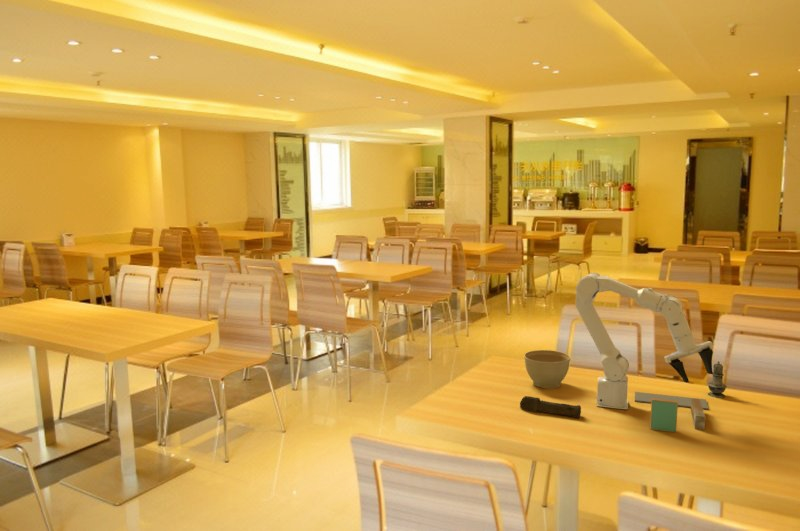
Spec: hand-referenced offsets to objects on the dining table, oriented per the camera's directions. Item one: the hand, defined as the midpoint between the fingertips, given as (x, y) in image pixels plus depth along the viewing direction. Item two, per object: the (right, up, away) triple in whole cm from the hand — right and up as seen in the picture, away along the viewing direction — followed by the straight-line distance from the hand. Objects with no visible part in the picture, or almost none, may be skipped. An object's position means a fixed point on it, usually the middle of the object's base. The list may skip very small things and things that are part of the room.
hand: (698, 377), depth 186 cm
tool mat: (-1, -11, +17) cm, 20 cm away
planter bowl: (-38, -9, +35) cm, 52 cm away
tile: (-14, -14, -7) cm, 21 cm away
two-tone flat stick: (0, -13, 0) cm, 13 cm away
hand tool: (-44, -13, +6) cm, 46 cm away
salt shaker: (+17, -10, +22) cm, 30 cm away
